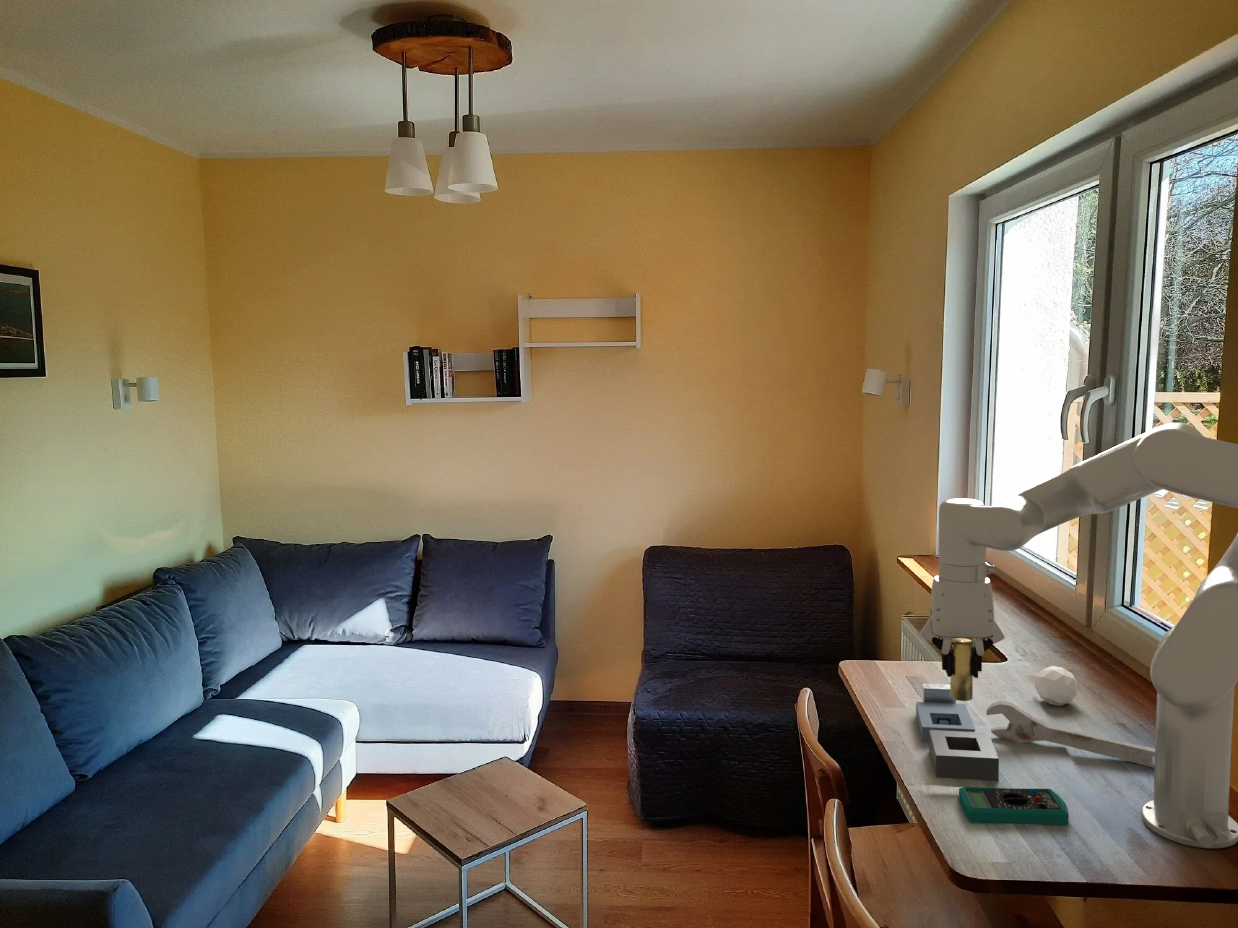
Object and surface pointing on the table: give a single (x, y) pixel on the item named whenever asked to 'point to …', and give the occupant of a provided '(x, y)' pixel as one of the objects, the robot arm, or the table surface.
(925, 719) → the socket block
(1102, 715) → the table surface
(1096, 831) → the table surface
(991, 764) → the grey slotted block
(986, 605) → the robot arm
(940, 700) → the plug block
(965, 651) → the peg
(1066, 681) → the ball
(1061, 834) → the table surface
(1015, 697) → the table surface
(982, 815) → the digital multimeter
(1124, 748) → the wrench
